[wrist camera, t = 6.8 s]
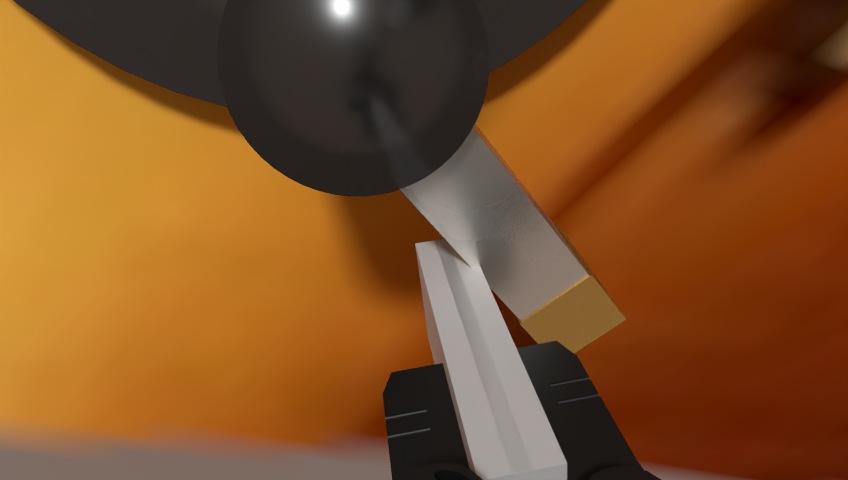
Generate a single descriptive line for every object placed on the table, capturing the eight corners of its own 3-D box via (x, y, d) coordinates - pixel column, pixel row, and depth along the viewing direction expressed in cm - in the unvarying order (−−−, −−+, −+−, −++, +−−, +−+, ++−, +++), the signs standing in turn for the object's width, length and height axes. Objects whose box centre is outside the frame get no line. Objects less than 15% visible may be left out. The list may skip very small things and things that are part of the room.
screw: (227, 7, 14) (155, 55, 9) (361, -123, 13) (370, -154, 8) (471, 271, 19) (518, 406, 14) (586, 188, 18) (684, 299, 13)
